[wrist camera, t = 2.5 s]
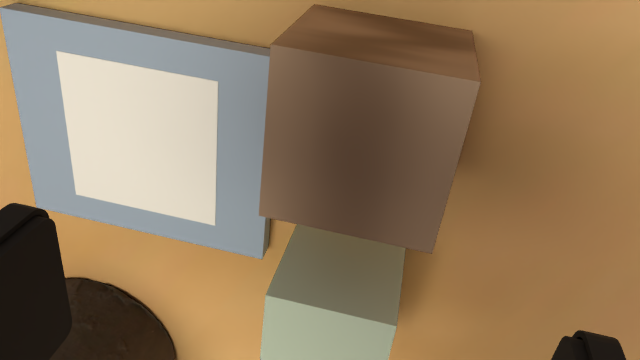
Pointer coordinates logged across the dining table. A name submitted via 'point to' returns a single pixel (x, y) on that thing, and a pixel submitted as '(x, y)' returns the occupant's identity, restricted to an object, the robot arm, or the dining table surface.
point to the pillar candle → (110, 326)
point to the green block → (333, 298)
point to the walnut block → (366, 124)
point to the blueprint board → (142, 125)
